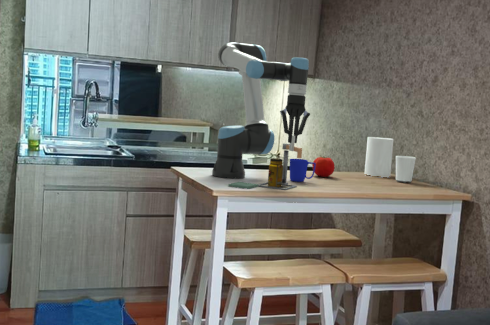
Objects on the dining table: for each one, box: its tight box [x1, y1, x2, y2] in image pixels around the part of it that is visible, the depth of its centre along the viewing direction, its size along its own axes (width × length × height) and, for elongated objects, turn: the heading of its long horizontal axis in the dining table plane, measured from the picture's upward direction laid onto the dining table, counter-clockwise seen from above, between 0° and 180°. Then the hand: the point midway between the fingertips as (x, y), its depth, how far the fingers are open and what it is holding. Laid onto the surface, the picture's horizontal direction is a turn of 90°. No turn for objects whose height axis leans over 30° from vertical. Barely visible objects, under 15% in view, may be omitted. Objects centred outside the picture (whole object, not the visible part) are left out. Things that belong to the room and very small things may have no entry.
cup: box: [395, 155, 417, 184], centre depth 333 cm, size 10×10×13 cm
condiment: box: [264, 157, 287, 188], centre depth 284 cm, size 7×8×12 cm
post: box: [282, 149, 290, 185], centre depth 292 cm, size 4×4×15 cm
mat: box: [227, 181, 259, 190], centre depth 278 cm, size 9×10×1 cm
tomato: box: [311, 156, 335, 178], centre depth 333 cm, size 11×13×10 cm
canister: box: [364, 136, 394, 178], centre depth 354 cm, size 14×14×20 cm
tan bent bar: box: [281, 142, 303, 159], centre depth 285 cm, size 4×18×4 cm, turn 17°
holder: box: [257, 181, 298, 191], centre depth 285 cm, size 14×14×1 cm
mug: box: [289, 158, 316, 183], centre depth 307 cm, size 8×12×10 cm
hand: (291, 150), depth 282 cm, fingers closed
